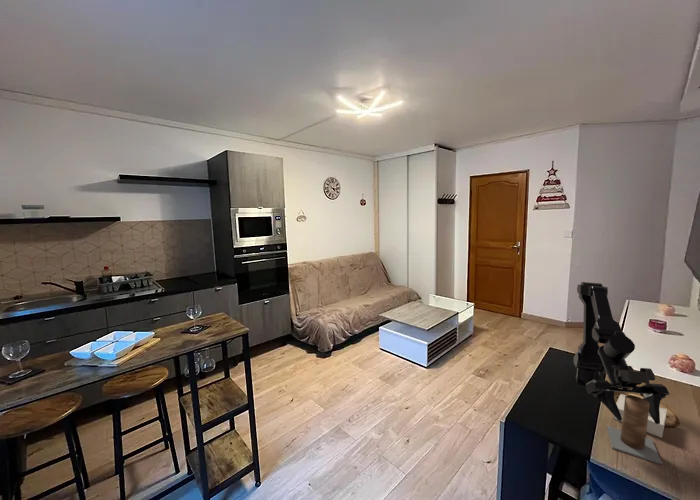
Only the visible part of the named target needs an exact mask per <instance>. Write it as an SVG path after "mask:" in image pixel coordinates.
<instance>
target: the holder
mask: <svg viewBox="0 0 700 500" xmlns="http://www.w3.org/2000/svg"><path fill="white" fill-rule="evenodd" d="M625 396H627V395H625V394H624V393H620V395H619V396H618V398H617V401H615V402H616V404H617V407H618V409H619V412H620V414H621V417H622V420H621V421H619V420H618V419H617V418H616V417H615V416H614V415H613V414H612V415H613V416H612V420H615V421H618V422H621V423H622V421H623V412H624V403H625ZM667 411H668V409H667V408H663V407H661V406H659V412H660V424H656V423H655V422H654V420H653V419H652V417H651V415H650V414H648V422H647V431H646V433H649V434H651V435H653V436H657V437H659V438H661V439H662V438H663V435H664V429H665V425H666V419H667V414H668V413H667Z"/></svg>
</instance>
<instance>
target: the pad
mask: <svg viewBox="0 0 700 500" xmlns="http://www.w3.org/2000/svg"><path fill="white" fill-rule="evenodd" d="M606 430H607V434H608V437H609V441H610V446H611V449H613V450H616V451H619V452H620V453H621V452H622V453H624V454H628V455H631V456H634V457H637V458H640V459H643V460H646V461H649V462H653V463H655V464H658V465H662V466H663V462H662V460H661V457H660V455H659V452H658V450H657V448H656V446H655V443H654V441H653V438H649V437H646V439H645V447H644V449H642V450H639V449H634V448H631V447H629V446H627V445H626V444H624V443H623V442H622V441H621V430H622V429H619V428H615V427H612V426H609V425H606Z"/></svg>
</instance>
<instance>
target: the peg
mask: <svg viewBox="0 0 700 500" xmlns="http://www.w3.org/2000/svg"><path fill="white" fill-rule="evenodd" d="M649 406H650V404H649V403H648V402H647V401H646V400H644V399H643V397H639V396H636V395H633V394H632V395H626V396H625V403H624V412H623V421H622V422H621V429H620V430H621V441H622V442H623V443H624V444H626V445H627V446H629V447H631V448H634V449H639V450H642V449H644V447H645V439H646V438H647V432H646V431H647V422H648V414H649Z"/></svg>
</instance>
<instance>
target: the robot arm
mask: <svg viewBox="0 0 700 500" xmlns="http://www.w3.org/2000/svg"><path fill="white" fill-rule="evenodd" d="M576 291H577V292H576V293H577V294H578V299H579V300H580V301H581V302H582V305H583V327H582V328H583V331H582V332H583V334H582V336H583V337H582V338H583V340H582V343H581V344H580V345H579V346H578V348H577V352H576V353H575V354H574V356H573V364H574V367H575V368H576V375H575V380H576V384H579V385H583V386H585V389H586V390H585V391H586V393H587V394H588V395H589V394H590V395H591V394H592V396H593V398H594V397H595V398H597V399H598V400H599V401H600V402H601V403H602V404H603V406H605V407H606V408H607V410H608V411H609V412H611V414H612V415H614V416H615V417H616V418H617V419H618V420H619V421H618V420H617V421H618V422H620V421H621V420H622V417H621V414H620V412H619V409H618V407H617V404H616V402H617V401H616V400H615V392H617V393H630V394H639V395H640V396H641V397H642V399H644V400H646V401H647V402H648V403H649V404H650V406H649V414H650V415H651V417H652V419H653V420H654V422H655V423H656V424H660V412H659V407H661V406H660V404H661V401H662V399H666V396H669V395H671V394H670V391H669V389H668V388H667V386H665V385H664V384H662V383H650V382H651V381H652V382H653V381H655V380H656V376H655V374H654V371H653V369H652V368H649V367H647V368H645V367H640V369H639V370H634V368H633V366H631V365H628V363H627V361H626V358H628V357H629V356H630V355H631V354H632V353H633V352H634V351H635V349H636V345H635V344H636V343H634V342H633V340H632V339H631V338H630V337H628V336H627V335H626V334H625V332H624V331H623V330H622V326H621V324H620V323H619V322H617V321H616V320H615V319H614V317H613V313H612V309H611V305H610V301H609V297H608V293H609V289H608V286H604V285H603V284H602V283H599V282H589V281H588V282H587V281H581V283H579V284H577V287H576ZM599 344H604V345H602V346H600V345H599ZM600 373H603V374H606V375H607V378H608V380H609V381H608V380H605V379H601V374H600ZM642 384H643V385H642ZM640 385H641V386H640Z"/></svg>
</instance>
